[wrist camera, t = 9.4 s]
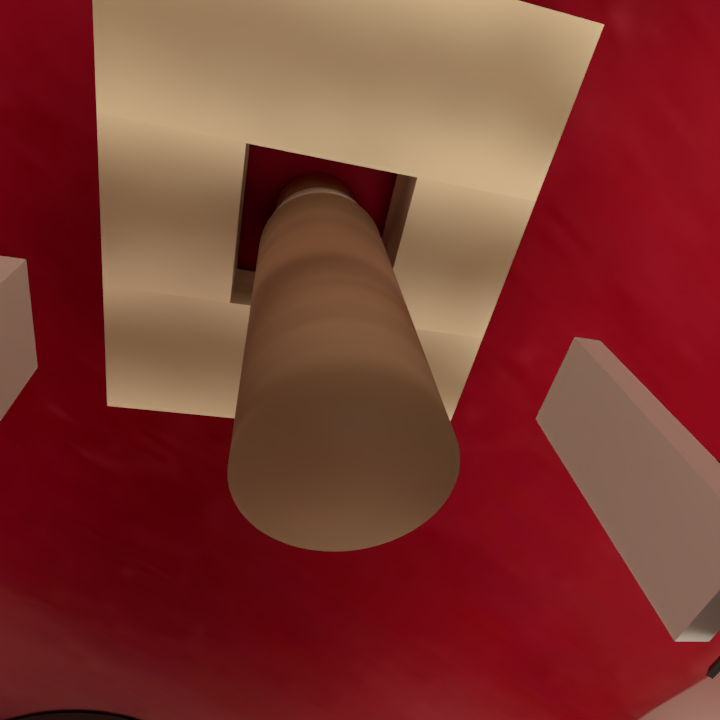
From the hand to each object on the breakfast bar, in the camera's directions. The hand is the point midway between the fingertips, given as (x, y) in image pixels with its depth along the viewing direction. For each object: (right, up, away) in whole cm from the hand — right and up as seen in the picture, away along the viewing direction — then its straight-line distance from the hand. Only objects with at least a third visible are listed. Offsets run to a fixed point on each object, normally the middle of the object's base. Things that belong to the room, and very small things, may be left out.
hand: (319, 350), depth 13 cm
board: (-1, +5, +8) cm, 9 cm away
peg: (-1, +5, +8) cm, 9 cm away
